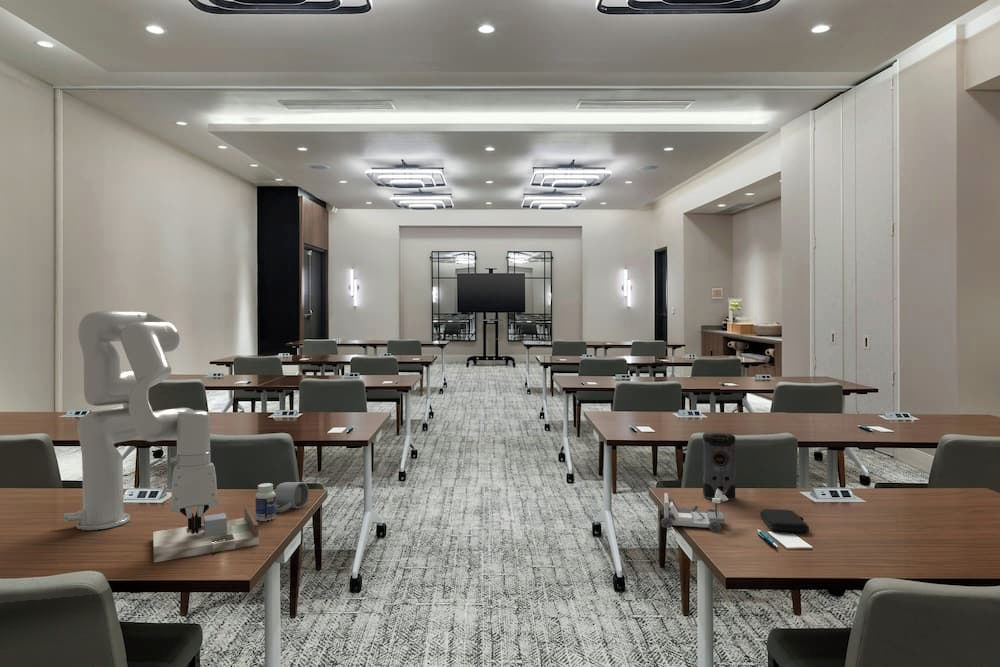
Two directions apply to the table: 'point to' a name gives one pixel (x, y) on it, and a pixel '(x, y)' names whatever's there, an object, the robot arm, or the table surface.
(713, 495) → the electronic device
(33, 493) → the table surface
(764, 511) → the carrying case or bag
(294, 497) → the ceramic mug
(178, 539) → the board
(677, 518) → the toy car
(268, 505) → the pill bottle
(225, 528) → the block
